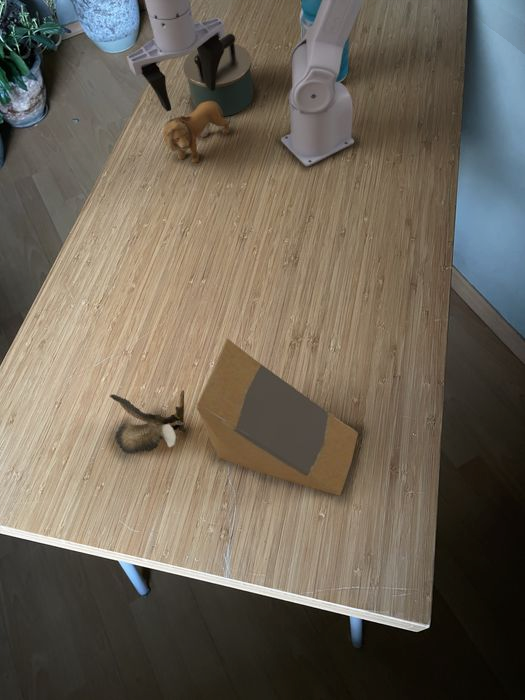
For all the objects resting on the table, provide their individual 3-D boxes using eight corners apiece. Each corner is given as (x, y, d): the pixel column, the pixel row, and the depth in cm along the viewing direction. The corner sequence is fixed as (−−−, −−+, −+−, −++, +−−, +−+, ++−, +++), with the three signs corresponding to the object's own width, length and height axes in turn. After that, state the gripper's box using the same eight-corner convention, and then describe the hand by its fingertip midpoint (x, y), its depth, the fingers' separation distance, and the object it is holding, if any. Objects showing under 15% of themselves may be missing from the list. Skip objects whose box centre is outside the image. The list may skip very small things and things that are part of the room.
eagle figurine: (184, 387, 75) (111, 389, 74) (184, 392, 68) (104, 395, 67) (185, 446, 75) (113, 450, 74) (186, 458, 68) (106, 462, 67)
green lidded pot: (268, 92, 105) (263, 40, 97) (221, 127, 101) (212, 75, 93) (223, 68, 110) (215, 16, 101) (177, 100, 106) (165, 49, 98)
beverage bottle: (308, 93, 104) (306, -26, 87) (296, 65, 108) (291, -54, 91) (354, 82, 104) (361, -39, 87) (340, 55, 109) (344, -65, 92)
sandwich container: (341, 498, 67) (345, 451, 54) (217, 459, 71) (194, 406, 58) (360, 431, 71) (368, 372, 58) (242, 398, 75) (225, 335, 62)
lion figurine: (191, 180, 96) (179, 135, 88) (164, 171, 97) (150, 125, 89) (236, 124, 102) (230, 77, 94) (210, 116, 103) (201, 69, 95)
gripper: (202, -25, 82) (217, 66, 93) (107, 14, 79) (135, 102, 90) (227, -3, 78) (239, 88, 90) (129, 39, 75) (155, 127, 87)
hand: (188, 97), depth 90 cm, fingers open, 7 cm apart
